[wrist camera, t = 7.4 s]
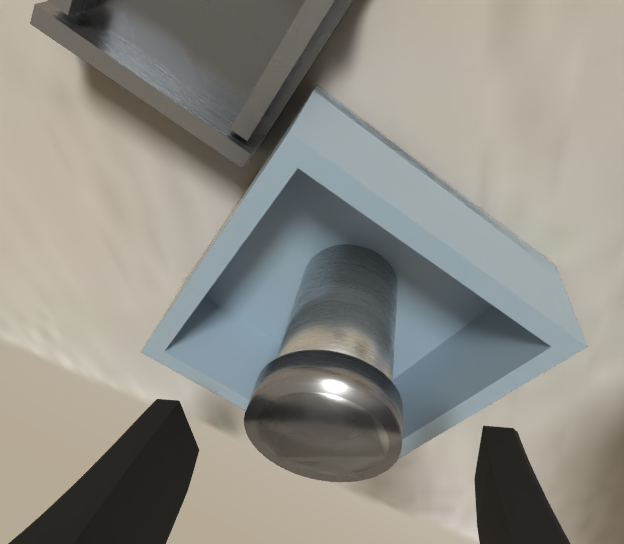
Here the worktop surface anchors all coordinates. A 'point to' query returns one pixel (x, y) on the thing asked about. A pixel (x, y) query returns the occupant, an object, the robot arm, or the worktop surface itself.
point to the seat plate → (200, 57)
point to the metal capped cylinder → (333, 373)
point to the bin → (402, 257)
